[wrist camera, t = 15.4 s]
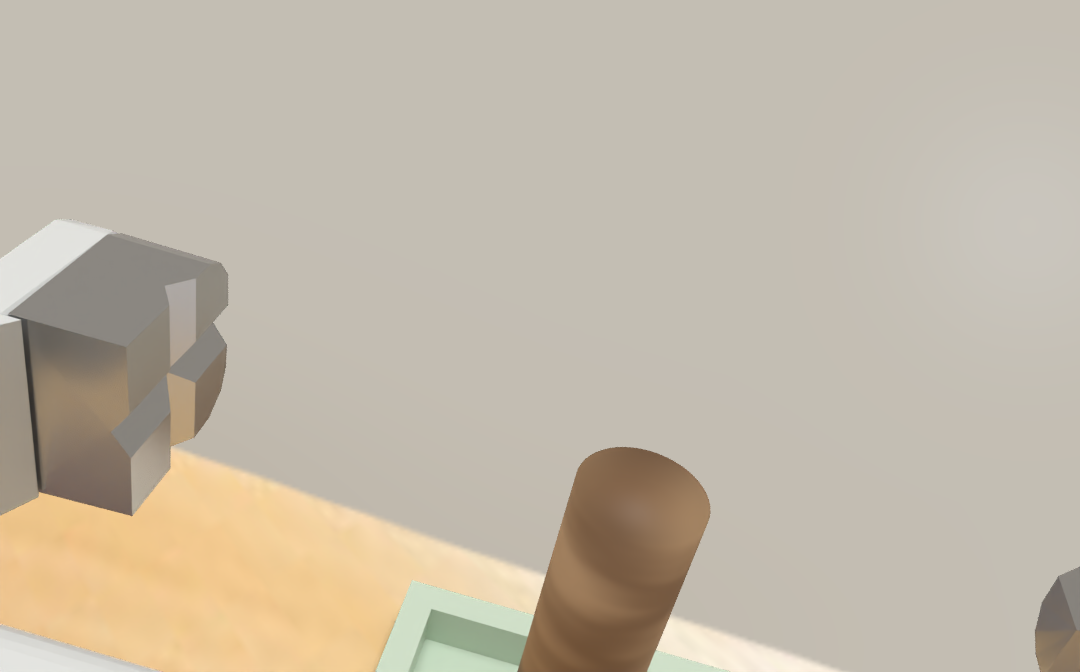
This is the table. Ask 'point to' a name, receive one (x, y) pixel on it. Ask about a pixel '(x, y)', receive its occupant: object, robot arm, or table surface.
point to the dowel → (616, 564)
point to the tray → (472, 636)
